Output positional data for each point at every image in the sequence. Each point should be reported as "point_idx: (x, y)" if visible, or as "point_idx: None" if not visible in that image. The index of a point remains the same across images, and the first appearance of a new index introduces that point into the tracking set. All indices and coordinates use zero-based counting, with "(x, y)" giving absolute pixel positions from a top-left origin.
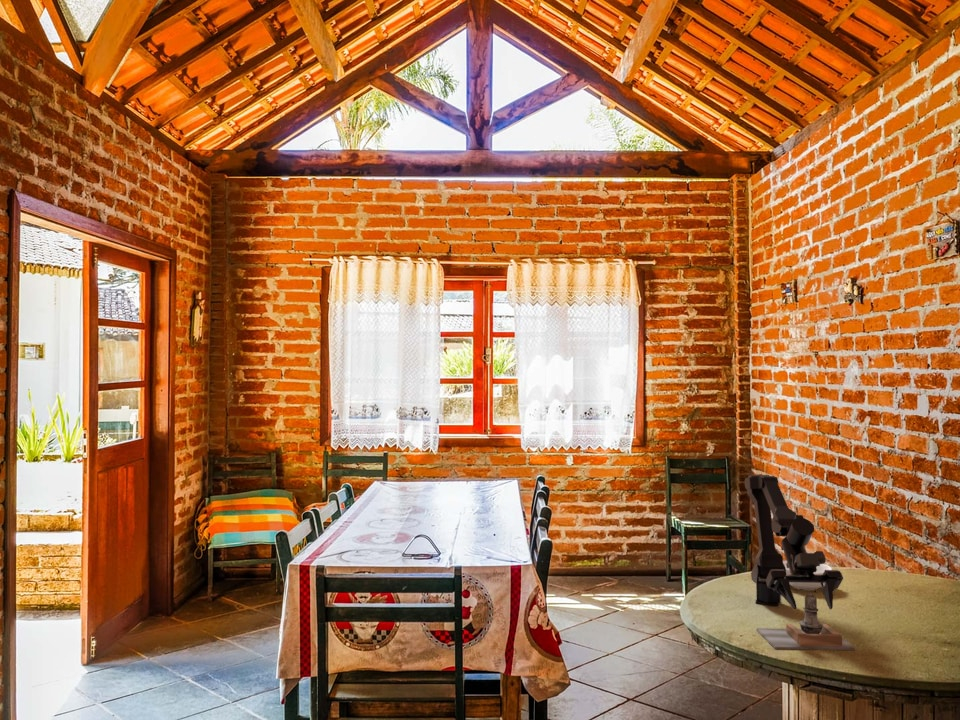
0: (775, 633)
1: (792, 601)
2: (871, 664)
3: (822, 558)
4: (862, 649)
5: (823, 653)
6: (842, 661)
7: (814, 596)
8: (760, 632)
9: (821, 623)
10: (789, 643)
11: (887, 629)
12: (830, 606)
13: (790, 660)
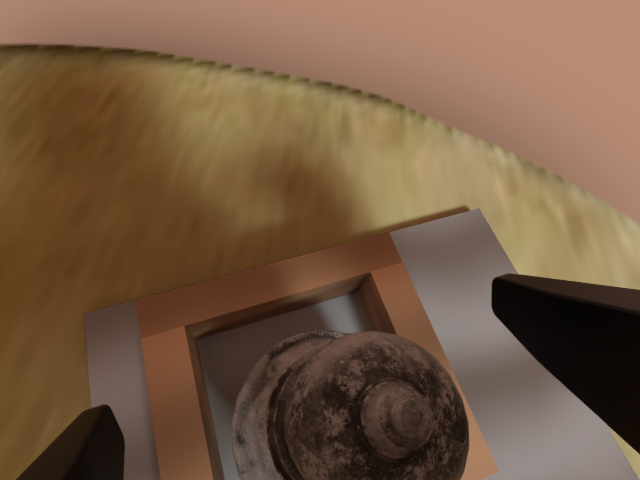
0: (521, 422)
1: (569, 281)
2: (84, 151)
3: None
4: (35, 348)
5: (270, 222)
6: (204, 153)
7: (326, 399)
8: None
9: (240, 463)
10: (425, 268)
11: None
12: (106, 416)
13: (400, 118)
